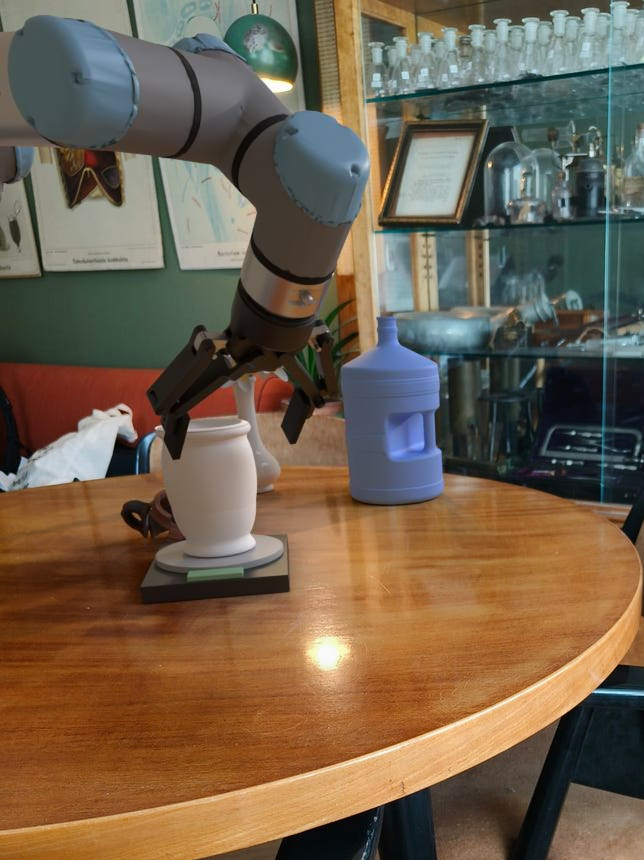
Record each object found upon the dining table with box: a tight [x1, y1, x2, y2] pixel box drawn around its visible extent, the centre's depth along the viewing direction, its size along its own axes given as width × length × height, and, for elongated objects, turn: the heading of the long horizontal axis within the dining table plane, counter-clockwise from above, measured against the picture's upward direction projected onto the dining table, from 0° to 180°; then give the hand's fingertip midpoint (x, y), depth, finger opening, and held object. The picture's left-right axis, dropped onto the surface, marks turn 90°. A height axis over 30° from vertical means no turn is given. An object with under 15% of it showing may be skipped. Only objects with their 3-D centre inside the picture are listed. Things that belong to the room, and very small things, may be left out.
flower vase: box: [220, 354, 289, 494], centre depth 149 cm, size 13×18×25 cm
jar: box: [154, 418, 258, 557], centre depth 105 cm, size 11×10×15 cm
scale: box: [139, 533, 291, 605], centre depth 107 cm, size 16×19×3 cm
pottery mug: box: [120, 488, 186, 543], centre depth 121 cm, size 12×10×8 cm
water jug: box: [340, 315, 445, 506], centre depth 142 cm, size 16×16×28 cm
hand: (232, 442), depth 97 cm, fingers open, 13 cm apart
